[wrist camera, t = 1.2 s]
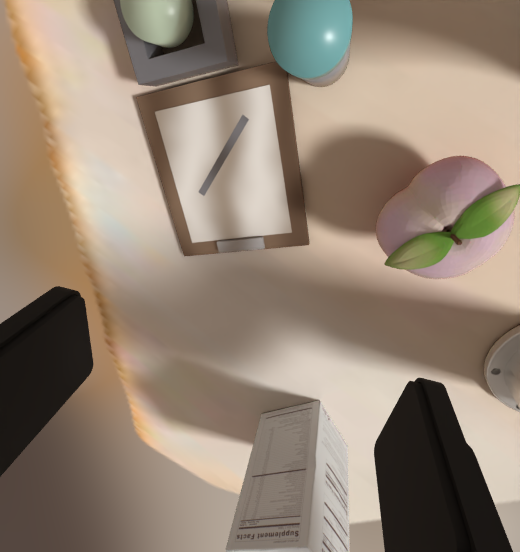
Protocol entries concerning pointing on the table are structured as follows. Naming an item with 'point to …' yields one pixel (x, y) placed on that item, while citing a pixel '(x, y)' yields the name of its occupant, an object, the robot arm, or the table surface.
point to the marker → (311, 38)
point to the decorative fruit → (447, 219)
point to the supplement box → (294, 485)
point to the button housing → (189, 61)
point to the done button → (159, 20)
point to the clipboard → (229, 161)
